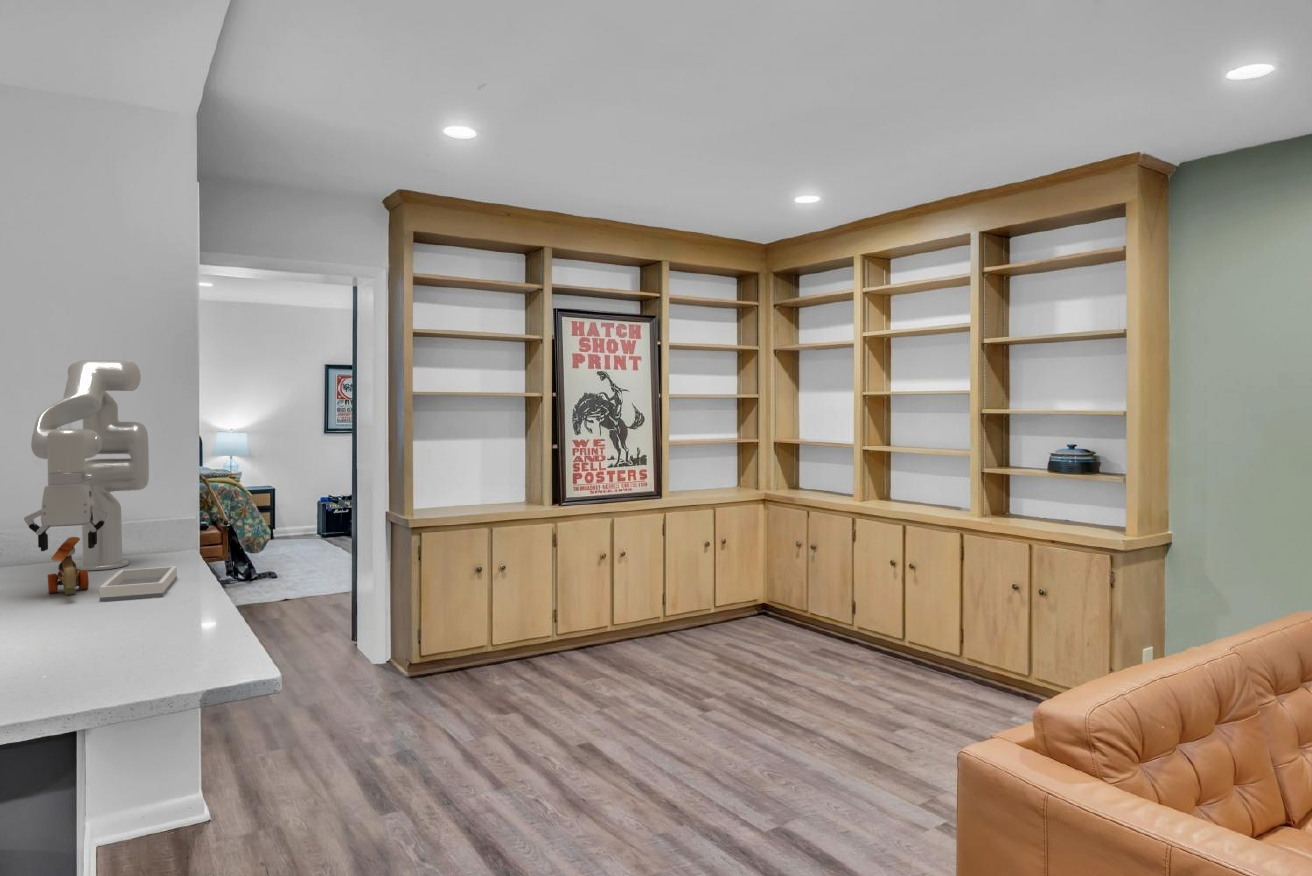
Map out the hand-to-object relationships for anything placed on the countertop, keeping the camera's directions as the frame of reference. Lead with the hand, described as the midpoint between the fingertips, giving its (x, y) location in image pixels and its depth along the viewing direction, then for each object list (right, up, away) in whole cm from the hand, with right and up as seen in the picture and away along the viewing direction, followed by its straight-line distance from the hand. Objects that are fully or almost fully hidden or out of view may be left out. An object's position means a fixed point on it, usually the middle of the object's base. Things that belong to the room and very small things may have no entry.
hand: (68, 549), depth 200 cm
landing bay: (+14, -11, +7) cm, 19 cm away
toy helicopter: (0, -12, +1) cm, 12 cm away
